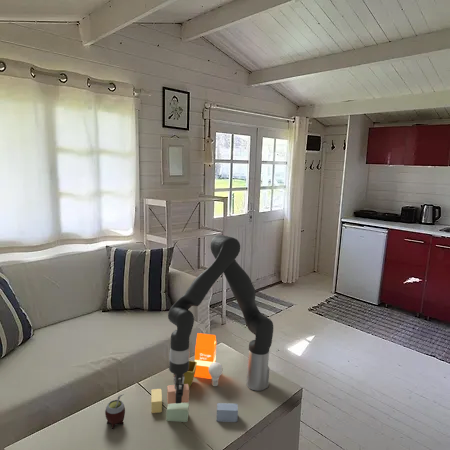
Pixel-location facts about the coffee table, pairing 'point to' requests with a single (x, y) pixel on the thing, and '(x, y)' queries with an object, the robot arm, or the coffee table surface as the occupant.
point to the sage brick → (178, 412)
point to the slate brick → (227, 412)
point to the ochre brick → (156, 401)
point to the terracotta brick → (172, 396)
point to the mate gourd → (115, 412)
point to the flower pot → (190, 373)
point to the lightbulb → (215, 372)
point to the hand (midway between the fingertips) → (178, 398)
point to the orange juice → (204, 354)
